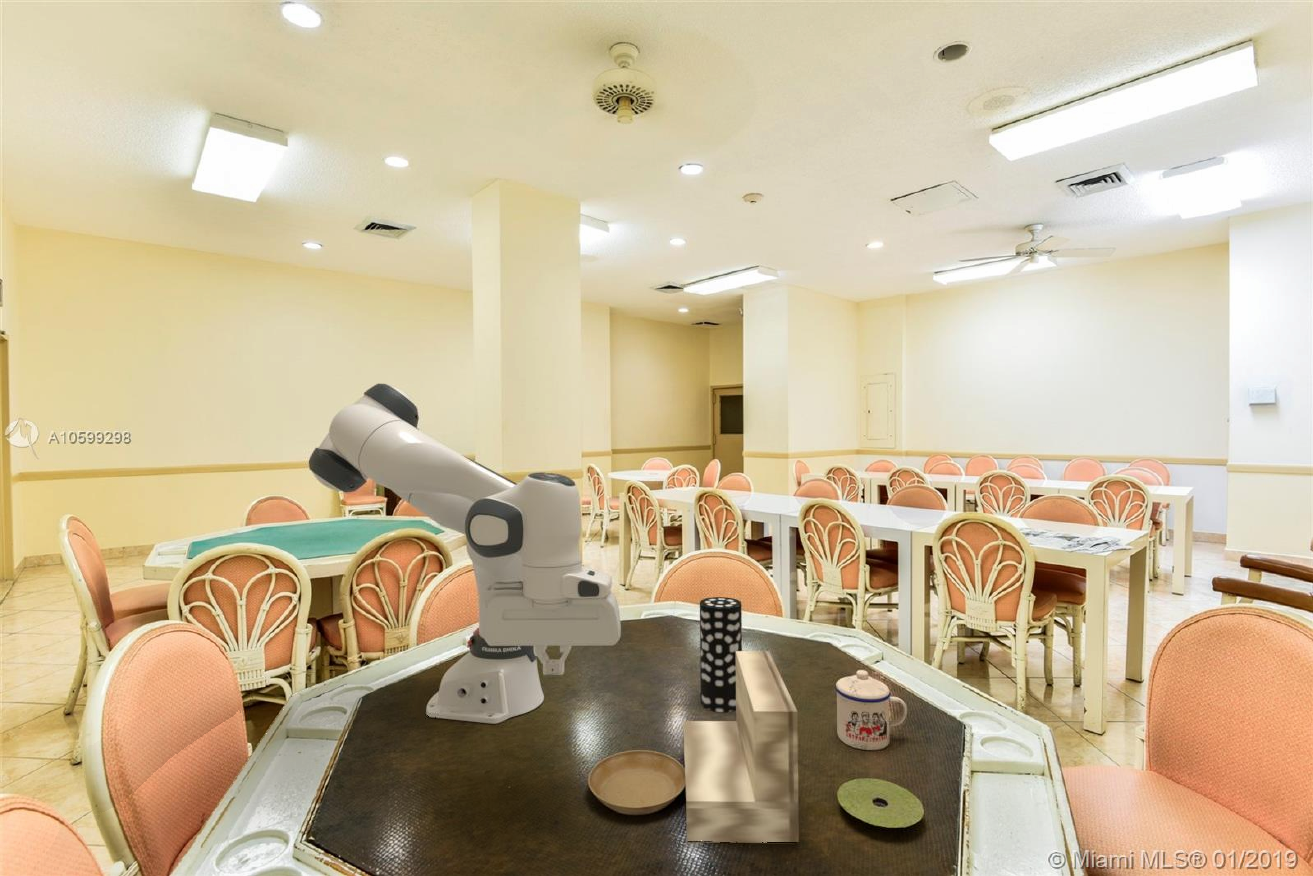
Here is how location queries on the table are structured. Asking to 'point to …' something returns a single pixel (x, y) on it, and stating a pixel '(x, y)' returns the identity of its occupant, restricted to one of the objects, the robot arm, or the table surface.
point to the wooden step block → (745, 762)
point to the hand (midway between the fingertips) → (553, 673)
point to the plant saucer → (637, 781)
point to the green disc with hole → (880, 803)
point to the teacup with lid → (865, 711)
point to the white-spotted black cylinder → (719, 651)
